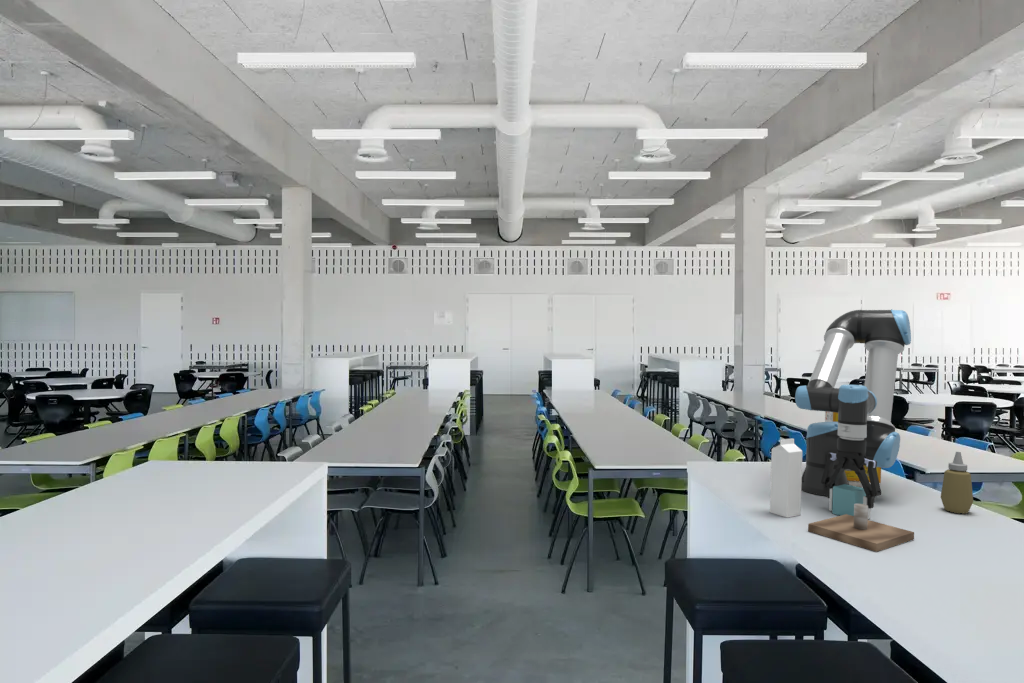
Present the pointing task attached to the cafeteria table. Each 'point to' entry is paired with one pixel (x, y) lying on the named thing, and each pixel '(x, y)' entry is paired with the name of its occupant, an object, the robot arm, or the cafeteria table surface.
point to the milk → (786, 479)
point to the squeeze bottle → (957, 487)
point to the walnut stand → (861, 530)
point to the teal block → (846, 499)
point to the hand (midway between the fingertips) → (849, 514)
